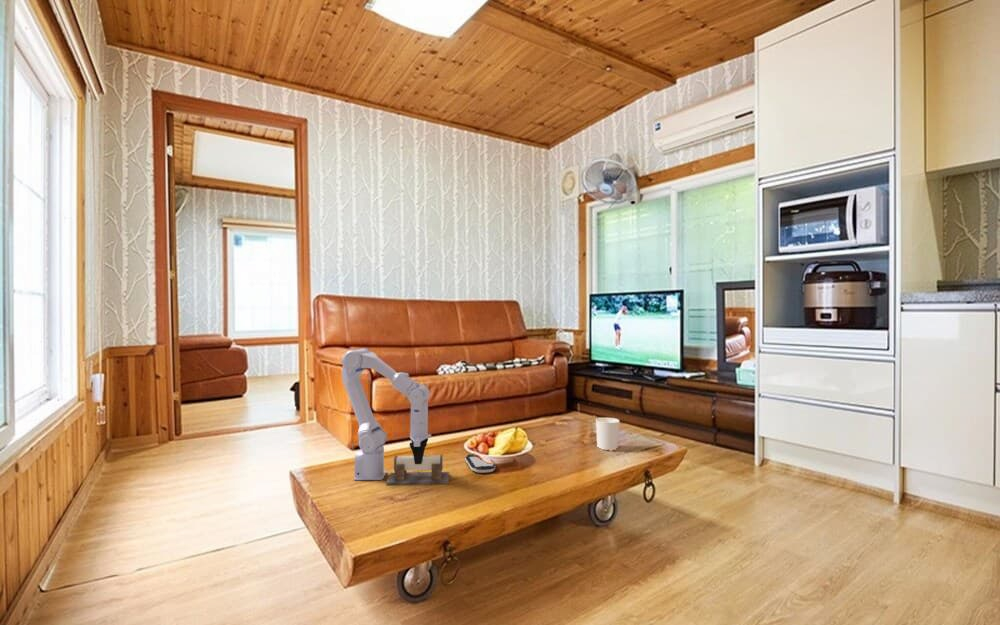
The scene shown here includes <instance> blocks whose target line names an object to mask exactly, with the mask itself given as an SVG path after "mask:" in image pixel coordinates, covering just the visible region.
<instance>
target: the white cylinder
mask: <svg viewBox="0 0 1000 625" xmlns="http://www.w3.org/2000/svg"><path fill="white" fill-rule="evenodd" d="M620 423H621V422H620V419H618V418H616V417H604V416H603V417H598V418H597V417H596V418H595V430H596V434H595V435H596V446H597V447H599V448H601V449H607V450H608V449H609V450H610V449H616V448H618V449H619V437H620V435H619V433H620V432H619V431H620Z"/></svg>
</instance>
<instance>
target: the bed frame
mask: <svg viewBox="0 0 1000 625" xmlns="http://www.w3.org/2000/svg"><path fill="white" fill-rule="evenodd" d="M404 466H405V464H395V471H394V472H390V474H389V475H388V478H387V480H386V483H385V484H386V486H411V485H413V486H414V485H415V486H416V485H420V486H421V485H448V484H449V477H450V471H443V469H442V470H441V464H432V470H431V471H425V472H424V471H422V472H421V471H420V472H418V471H417V472H415V471H414V472H413V471H411V472H409V471H408V470H405V471H404Z"/></svg>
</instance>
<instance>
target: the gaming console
mask: <svg viewBox="0 0 1000 625" xmlns="http://www.w3.org/2000/svg"><path fill="white" fill-rule="evenodd" d="M471 454H472V453H470V454H467V455H465V457H464V458H465V459H464V460H465V462H466V464H467V465H468V467H469V468H470V470H471V471H472V473H475V474H477V475H489V474H492V473H494V472H496V470H497V465H496V464H495V463H494V464H487V463H485V462H483V461H482V460H480V459H479V458H477V457H475V456H473V455H471Z"/></svg>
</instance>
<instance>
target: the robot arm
mask: <svg viewBox="0 0 1000 625" xmlns="http://www.w3.org/2000/svg"><path fill="white" fill-rule="evenodd" d="M340 362H341V364H342V369H341V380H342V383H343V386H344V388H345V391H346V394H347V397H348V399H349V402H350V405H351V407H352V409H353V413H354V416H355V418H356V420H357V423H358V432H357V436H358V446H359V449H360V450H356V452H355V456H354V478H353V481H378V480H379V481H381V480H384V478H385V475H386V474H387V470H385V466H384V465H385V464H384V462H385V458H384V457H385V449H384V445H385V443H386V442H387V437H388V434H387V432H386V431H385V430H384V429H383V428H382V426H381V424H380V422H378V421H377V420H376V419H375V417H374V415H373V412H372V409H371V405H370V403H369V400H368V398H367V395H366V392H365V389H364V386H363V385H362V382H361V379H360V377H361V375H362V373H363V372H364V370H365V369H373V370H374V371H376V372H377V373H378V374H380V375H382V376H383V377H385V378H386V379H388V380H390V382H391V386H392V387H393V388H394V389H396V390H397V391H398V392H399V393H401V394H402V395H404V396H405V397H406V398H407V400H408V401H409V403H410V434H409V438H410V441H411V442H409V447H410V449H411V451H412V456H414V462H415V464H421V463H422V459H423V456H425V449H426V448H427V445H428V441H429V439H430V438H432V434H430V433H428V429H429V428H428V424H429V423H428V422H429V417H428V416H429V408H428V407H429V406H428V405H429V404H428V403H429V401H428V400H429V399H430V396H431V391H430V389H429V387H427V385H426V384H420V381H415V380H414V379H412V378H411V377H410V374H409V373H408V372H403V371H402V372H397V371H396V370H395V369H394V368H392V367H391V366H390V365H389V364H387V363H386V362H385V361H383V360H382V359H381V358H380V357H379V356H377V354H376V353H375V352H372V351H370V350H369V349H368V348H366V347H362V348H358V349H350V350H348V351H346V352H345V353H344V355H343V357H342V359H341V361H340Z"/></svg>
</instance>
